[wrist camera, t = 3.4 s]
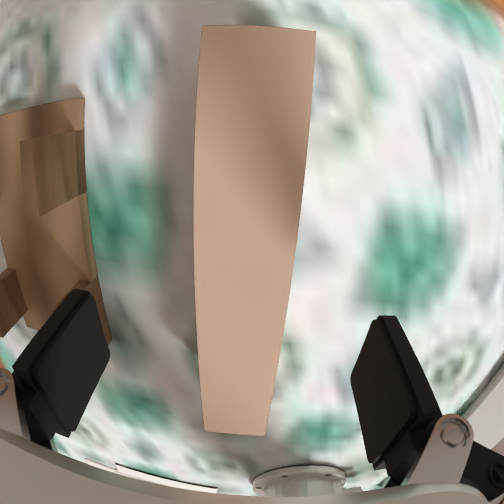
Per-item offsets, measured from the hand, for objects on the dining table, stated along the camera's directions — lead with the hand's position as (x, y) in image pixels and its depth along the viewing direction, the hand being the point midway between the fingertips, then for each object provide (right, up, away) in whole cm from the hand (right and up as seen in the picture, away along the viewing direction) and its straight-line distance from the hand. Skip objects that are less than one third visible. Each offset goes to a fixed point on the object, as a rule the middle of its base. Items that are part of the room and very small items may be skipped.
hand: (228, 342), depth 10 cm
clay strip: (+1, +3, +9) cm, 10 cm away
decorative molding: (+30, -21, +19) cm, 42 cm away
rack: (-14, +4, +9) cm, 17 cm away
